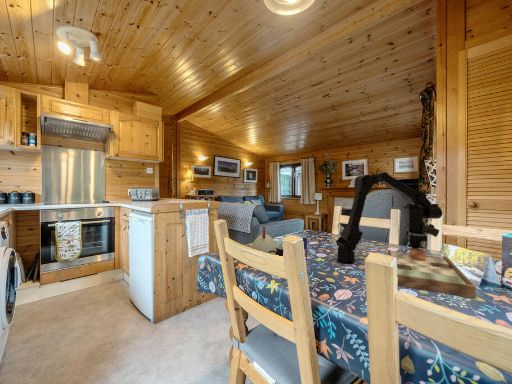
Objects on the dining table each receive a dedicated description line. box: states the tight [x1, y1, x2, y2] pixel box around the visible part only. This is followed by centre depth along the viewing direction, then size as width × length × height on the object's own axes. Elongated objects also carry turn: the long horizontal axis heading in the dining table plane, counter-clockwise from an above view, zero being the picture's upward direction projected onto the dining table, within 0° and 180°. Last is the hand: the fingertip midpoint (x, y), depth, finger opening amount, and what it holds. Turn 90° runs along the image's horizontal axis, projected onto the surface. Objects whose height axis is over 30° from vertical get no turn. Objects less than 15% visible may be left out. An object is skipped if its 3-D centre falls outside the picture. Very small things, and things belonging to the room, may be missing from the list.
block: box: [409, 247, 427, 261], centre depth 100 cm, size 5×5×4 cm
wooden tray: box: [387, 249, 477, 299], centre depth 90 cm, size 22×35×4 cm, turn 152°
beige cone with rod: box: [249, 226, 278, 255], centre depth 108 cm, size 14×14×15 cm
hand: (415, 252), depth 106 cm, fingers closed
